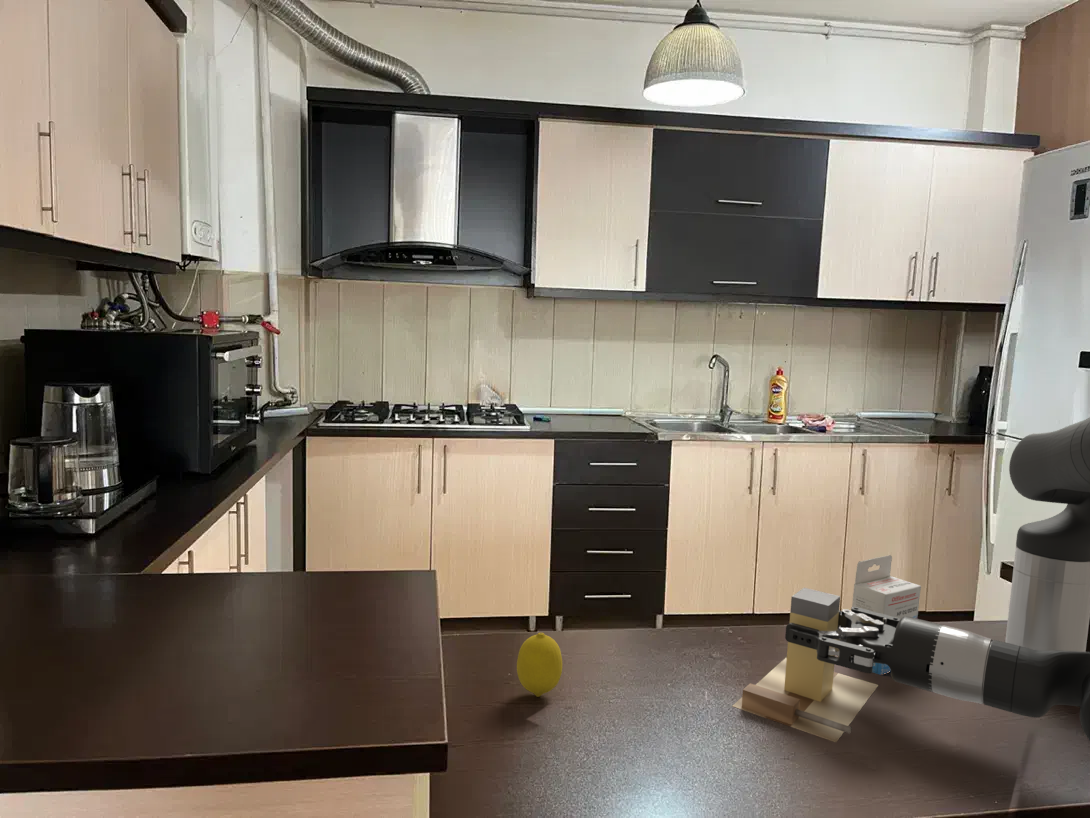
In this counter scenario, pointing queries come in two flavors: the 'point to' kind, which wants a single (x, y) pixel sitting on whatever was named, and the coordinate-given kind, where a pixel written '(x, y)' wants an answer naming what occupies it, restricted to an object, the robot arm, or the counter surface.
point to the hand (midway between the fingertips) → (798, 621)
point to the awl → (781, 707)
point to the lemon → (539, 664)
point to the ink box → (884, 594)
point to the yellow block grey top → (802, 661)
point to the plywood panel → (834, 707)
